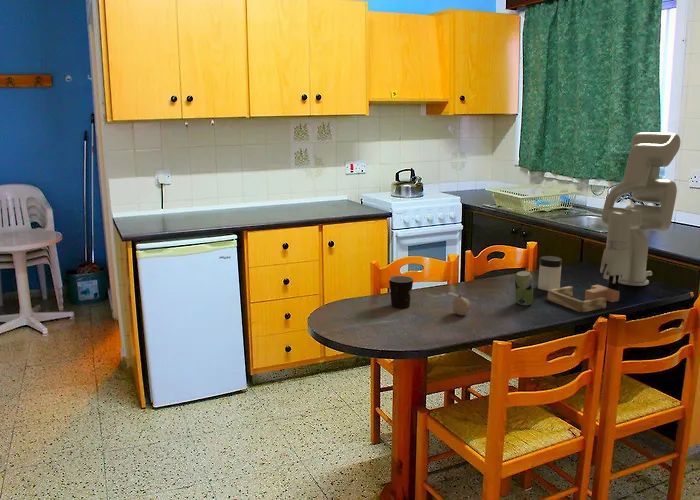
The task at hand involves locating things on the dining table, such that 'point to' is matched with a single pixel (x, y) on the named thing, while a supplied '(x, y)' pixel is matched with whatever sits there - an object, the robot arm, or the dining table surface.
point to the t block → (602, 293)
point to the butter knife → (455, 295)
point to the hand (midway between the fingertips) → (612, 292)
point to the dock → (574, 300)
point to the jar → (549, 272)
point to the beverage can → (524, 287)
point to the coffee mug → (400, 291)
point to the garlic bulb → (460, 305)
